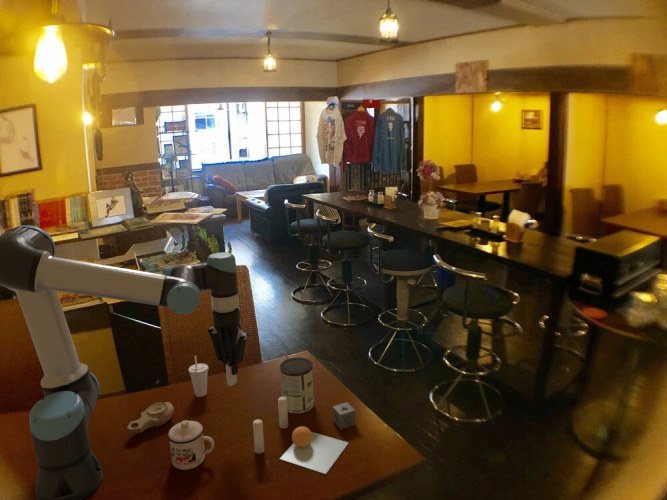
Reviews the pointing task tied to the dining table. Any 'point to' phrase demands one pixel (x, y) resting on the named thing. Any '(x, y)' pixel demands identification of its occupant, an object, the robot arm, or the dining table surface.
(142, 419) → the oil lamp
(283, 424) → the post
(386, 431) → the dining table surface
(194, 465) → the teacup with lid
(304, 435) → the ball
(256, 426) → the post
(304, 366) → the coffee can
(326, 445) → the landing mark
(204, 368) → the smoothie
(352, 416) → the dice cube
